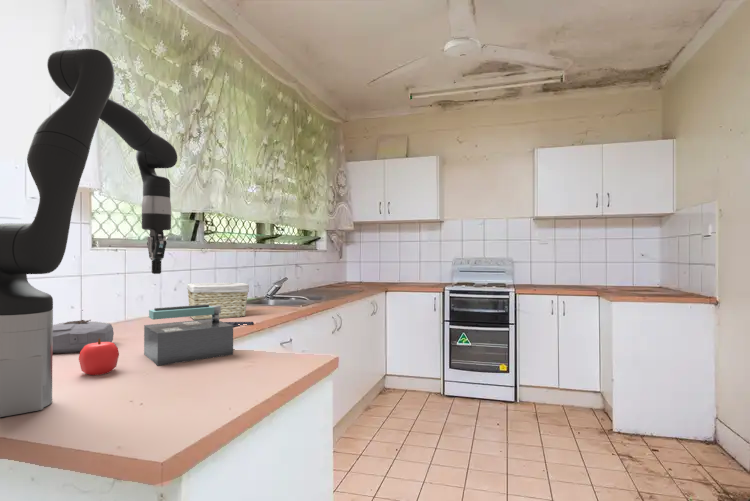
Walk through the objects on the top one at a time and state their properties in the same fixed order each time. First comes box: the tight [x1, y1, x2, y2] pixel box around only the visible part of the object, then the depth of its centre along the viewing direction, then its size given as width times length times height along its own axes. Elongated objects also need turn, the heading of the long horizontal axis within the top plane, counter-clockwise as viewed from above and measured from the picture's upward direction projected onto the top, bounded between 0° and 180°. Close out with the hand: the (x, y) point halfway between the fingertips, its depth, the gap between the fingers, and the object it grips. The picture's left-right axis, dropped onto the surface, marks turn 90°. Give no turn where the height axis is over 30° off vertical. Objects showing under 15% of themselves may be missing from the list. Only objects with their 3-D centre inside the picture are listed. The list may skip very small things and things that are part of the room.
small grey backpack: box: [52, 319, 115, 354], centre depth 126 cm, size 15×8×20 cm
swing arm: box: [148, 304, 221, 320], centre depth 121 cm, size 18×5×3 cm, turn 129°
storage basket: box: [186, 282, 250, 320], centre depth 190 cm, size 24×16×15 cm
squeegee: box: [223, 321, 254, 328], centre depth 162 cm, size 14×15×3 cm
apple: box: [78, 338, 120, 376], centre depth 101 cm, size 8×8×8 cm
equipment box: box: [143, 313, 234, 367], centre depth 119 cm, size 16×19×10 cm
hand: (156, 273), depth 123 cm, fingers closed
